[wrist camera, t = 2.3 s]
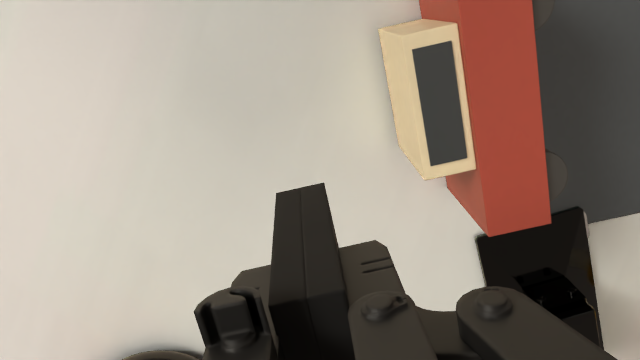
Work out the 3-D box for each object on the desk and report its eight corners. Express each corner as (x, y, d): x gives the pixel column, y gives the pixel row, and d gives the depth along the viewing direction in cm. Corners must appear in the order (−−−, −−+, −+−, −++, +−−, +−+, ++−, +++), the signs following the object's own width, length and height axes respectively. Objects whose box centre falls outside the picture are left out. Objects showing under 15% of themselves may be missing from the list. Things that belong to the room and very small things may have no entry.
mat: (474, -93, 29) (475, -93, 29) (770, -162, 29) (773, -163, 28) (512, 239, 35) (513, 240, 35) (754, 185, 35) (757, 186, 35)
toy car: (368, -18, 30) (392, -24, 23) (492, -47, 30) (555, -62, 23) (406, 197, 34) (437, 248, 27) (516, 172, 34) (575, 218, 27)
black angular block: (473, 235, 35) (499, 269, 31) (583, 203, 35) (626, 232, 30) (507, 385, 39) (535, 434, 35) (606, 356, 39) (647, 403, 34)
